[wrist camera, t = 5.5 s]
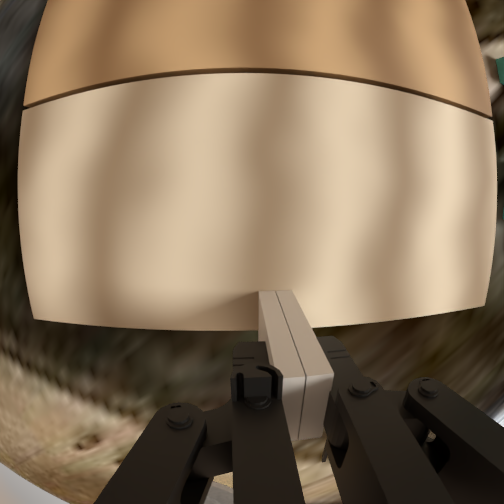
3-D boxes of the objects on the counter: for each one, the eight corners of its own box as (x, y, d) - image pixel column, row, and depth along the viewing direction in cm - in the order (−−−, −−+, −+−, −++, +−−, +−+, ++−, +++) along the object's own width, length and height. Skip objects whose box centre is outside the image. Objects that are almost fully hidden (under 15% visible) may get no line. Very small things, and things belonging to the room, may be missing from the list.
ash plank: (473, 125, 14) (492, 120, 12) (467, 296, 16) (484, 305, 14) (41, 116, 13) (22, 110, 11) (50, 307, 15) (33, 318, 13)
